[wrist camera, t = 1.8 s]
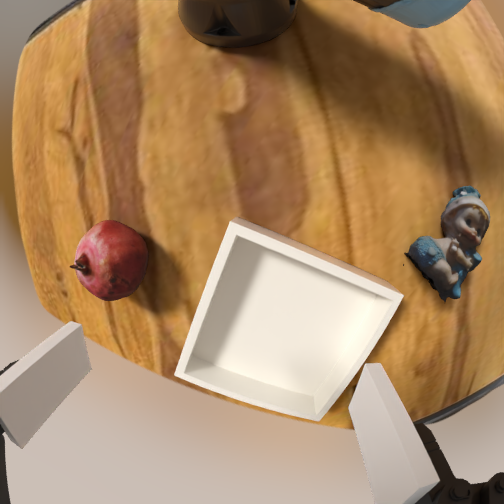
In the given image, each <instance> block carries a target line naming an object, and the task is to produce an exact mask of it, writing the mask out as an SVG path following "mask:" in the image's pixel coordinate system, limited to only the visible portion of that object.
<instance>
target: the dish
mask: <svg viewBox="0 0 504 504" xmlns="http://www.w3.org/2000/svg"><path fill="white" fill-rule="evenodd" d="M403 296H404V295H403V294H402V293H400V292H399V291H398V290H397V289H396V288H395V287H393V286H392V285H391V284H390V283H389V282H388V281H386V280H384V279H381V278H379V277H377V276H375V275H373V274H370V273H368V272H366V271H364V270H361V269H359V268H357V267H355V266H352V265H350V264H348V263H346V262H343V261H341V260H339V259H337V258H334V257H332V256H330V255H327V254H325V253H323V252H321V251H318V250H316V249H314V248H311V247H309V246H307V245H304V244H302V243H300V242H297V241H295V240H293V239H290V238H288V237H285V236H283V235H281V234H278V233H276V232H274V231H271V230H269V229H266V228H264V227H261V226H259V225H257V224H254V223H252V222H249V221H247V220H244V219H242V218H239V217H235V218H234V219H232V220H231V221H230V223H229V226H228V228H227V231H226V233H225V236H224V239H223V241H222V244H221V246H220V249H219V252H218V254H217V257H216V259H215V262H214V265H213V267H212V270H211V273H210V275H209V278H208V281H207V284H206V286H205V289H204V292H203V294H202V297H201V300H200V303H199V305H198V308H197V311H196V314H195V317H194V319H193V322H192V325H191V328H190V331H189V334H188V336H187V339H186V342H185V345H184V348H183V351H182V354H181V357H180V360H179V363H178V366H177V369H176V372H175V376H177V377H179V378H182V379H184V380H186V381H189V382H191V383H194V384H196V385H199V386H201V387H204V388H207V389H209V390H212V391H214V392H217V393H220V394H223V395H226V396H228V397H231V398H234V399H237V400H240V401H243V402H247V403H250V404H253V405H256V406H260V407H263V408H266V409H270V410H274V411H277V412H281V413H285V414H289V415H293V416H297V417H301V418H306V419H310V420H315V421H320V420H321V418H322V417H323V416H324V415H325V414H326V412H327V411H328V410H329V409H330V407H331V406H332V405H333V404H334V402H335V401H336V400H337V399H338V397H339V396H340V395H341V393H342V392H343V391H344V389H345V388H346V387H347V385H348V384H349V383H350V381H351V380H352V379H353V377H354V376H355V374H356V373H357V372H358V370H359V369H360V367H361V366H362V364H363V363H364V361H365V360H366V358H367V357H368V355H369V354H370V352H371V351H372V349H373V348H374V346H375V345H376V343H377V341H378V340H379V338H380V337H381V335H382V333H383V332H384V330H385V328H386V327H387V325H388V323H389V322H390V320H391V318H392V316H393V315H394V313H395V311H396V309H397V307H398V306H399V304H400V302H401V300H402V298H403Z"/></svg>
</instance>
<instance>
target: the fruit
mask: <svg viewBox="0 0 504 504" xmlns="http://www.w3.org/2000/svg"><path fill="white" fill-rule="evenodd" d="M148 256H149V255H148V250H147V245H146V243H145V240H144V239H143V238H142V237H141V236H140V235H139V234H138V233H137V232H136V231H135V230H134V229H132V228H130V227H128V226H126V225H125V224H122V223H120V222H117V221H114V220H106V221H102V222H100V223H98V224H96V225H95V226H93V227H92V228H91V229H90V230H89V231H88V232H87V233H86V234H85V235H84V236H83V237H82V239H81V241H80V242H79V245H78V247H77V251H76V257H75V265H72V266H70V267H71V268H74V269H75V271H76V274H77V277H78V279H79V281H80V282H81V284H82V285H83V286H84V287H85V288H86V289H87V290H88V291H90V292H91V293H92V294H93V295H95V296H96V297H98V298H100V299H102V300H105V301H114V300H118V299H121V298H124V297H127V296H129V295H131V294H132V293H133V292H134V291H135V290H136V289H137V288H138V287H139V285H140V283H141V282H142V280H143V278H144V276H145V274H146V269H147V264H148Z"/></svg>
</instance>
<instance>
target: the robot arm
mask: <svg viewBox="0 0 504 504" xmlns="http://www.w3.org/2000/svg"><path fill="white" fill-rule="evenodd" d="M353 1H356V2H358V3H360V4H362V5H365V6H367V7H368V8H369V9H370V10H372V11H374V12H380V13H382V14H384V15H387V16H389V17H391V18H393V19H395V20H397V21H399V22H401V23H403V24H405V25H407V26H410V27H414V28H428V27H431V26H436V25H438V24H440V23H442V22H444V21H446V20H448V19H449V18H451V17H452V16H454V15H455V14H457V13H458V12H459V11H460V10H461V9H463V8H464V7H465V6H466V5H467V4H468V3H469V2H470V1H471V0H353ZM297 4H298V0H179V1H178V13H179V17H180V20H181V22H182V23H183V25H184V27H185V28H186V30H187V31H188V33H189V34H190V35H192V36H193V37H194V38H196V39H197V40H199V41H201V42H204V43H206V44H209V45H213V46H219V47H245V46H251V45H256V44H259V43H263V42H265V41H268V40H270V39H272V38H274V37H276V36H278V35H280V34H281V33H282V32H284V31H285V30H286V29H287V28H288V27H289V26H290V25H291V24H292V22H293V20H294V18H295V16H296V11H297ZM91 369H92V368H91V365H90V361H89V357H88V352H87V348H86V344H85V339H84V334H83V329H82V324H78V323H75V322H72V321H70V322H69V323H67V324H66V325H64V326H63V327H62V328H60V329H59V330H58V331H57V332H55V333H54V334H52V335H51V336H50V337H48V338H47V339H46V340H45V341H43V342H42V343H41V344H39V345H38V346H37V347H35V348H34V349H33V350H32V351H30V352H29V353H28V354H26V355H25V356H24V357H23V358H21V359H20V360H17V361H15V362H13V363H10V364H9V365H8V366H7V367H5V368H4V370H2V371H0V504H11V503H10V498H9V491H8V484H7V476H6V462H5V440H4V436H3V435H2V434H3V433H4V432H6V434H7V435H8V437H9V438H10V440H11V441H12V442H14V443H15V444H16V445H17V446H19V447H20V448H21V449H23V448H24V446H25V445H26V444H27V443H28V441H29V440H30V439H31V438H32V437H33V435H34V434H35V433H36V432H37V431H38V429H39V428H40V427H41V426H42V425H43V423H44V422H45V421H46V420H47V419H48V418H49V416H50V415H51V414H52V413H53V412H54V411H55V410H56V408H57V407H58V406H59V405H60V404H61V403H62V401H63V400H64V399H65V398H66V397H67V396H68V395H69V394H70V392H71V391H72V390H73V389H74V388H75V387H76V386H77V385H78V384H79V383H80V381H81V380H82V379H83V378H84V377H85V376H86V375H87V374H88V372H90V370H91ZM348 408H349V412H350V415H351V418H352V422H353V425H354V428H355V432H356V435H357V439H358V442H359V446H360V449H361V453H362V456H363V460H364V464H365V468H366V471H367V475H368V479H369V483H370V486H371V491H372V495H373V499H374V503H375V504H504V473H503V472H500V473H497V474H495V475H494V476H493V477H492V478H491V479H490V480H489V481H488V482H484V483H477V484H470V483H468V481H466V480H464V479H457V478H455V476H454V475H453V473H452V471H451V469H450V466H449V464H448V462H447V460H446V458H445V457H444V454H443V453H442V451H441V450H440V447H439V445H438V443H437V442H436V439H435V437H434V435H433V434H432V432H431V430H430V429H428V428H427V427H426V426H425V425H424V424H423V423H419V424H414V425H413V423H412V421H411V419H410V417H409V415H408V413H407V411H406V409H405V407H404V405H403V403H402V402H401V400H400V398H399V396H398V394H397V392H396V390H395V389H394V387H393V385H392V383H391V381H390V379H389V378H388V376H387V374H386V372H385V370H384V369H383V367H382V365H381V363H365V365H364V368H363V371H362V374H361V376H360V379H359V382H358V385H357V387H356V390H355V392H354V395H353V397H352V400H351V402H350V405H349V407H348Z"/></svg>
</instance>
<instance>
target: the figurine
mask: <svg viewBox="0 0 504 504" xmlns="http://www.w3.org/2000/svg"><path fill="white" fill-rule="evenodd" d="M453 195H454V196H455V197H456V198H451V200H450V201H449V203H448V204H447V206H446V209H445V211H444V212H443V213H442V215H441V227H442V228H443V232H444V235H445V237H446V238H441V239H433V238H432V237H431V236H422V237H419V238H418V239H417V240H416V241H415V242H414V243H413V244H412V245H411V246H410V249H409V252H408V253H404V254H405V255H406V256H407V257H409V259H411V261H412V262H413V263H414V264H415V267H416V268H417V269H418V270H420V271H421V272H422V275H423V277H424V278H426V279H427V280H429V283H430V285H431V286H432V288H433V289H435V290H437V291H438V292H439V296H440V298H441V299H443V300H444V302H446V299H447V297H450V298H452V299H458V298H460V294H461V288H460V286H461V284H462V282H463V281H464V279H465V278H466V276H467V273H468V272H470V271H472V270H474V268H475V267H476V266H478V265H479V263H480V262H481V260H482V258H481V256H480V255H479V254H478V253H477V252H476V246H478V245H480V244H481V240H482V239H483V237H484V235H485V233H486V231H487V229H488V227H489V223H490V213H489V211H488V209H487V207H486V206H485V204H484V203H483V202H482V201H481V200H480V199H479V198H480V196H481V195H480V193H478V190H477V189H474V188H473V187H472V186H464V187H460V188H458V189H456V190H455V191H453ZM403 266H404V264H403Z"/></svg>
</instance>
